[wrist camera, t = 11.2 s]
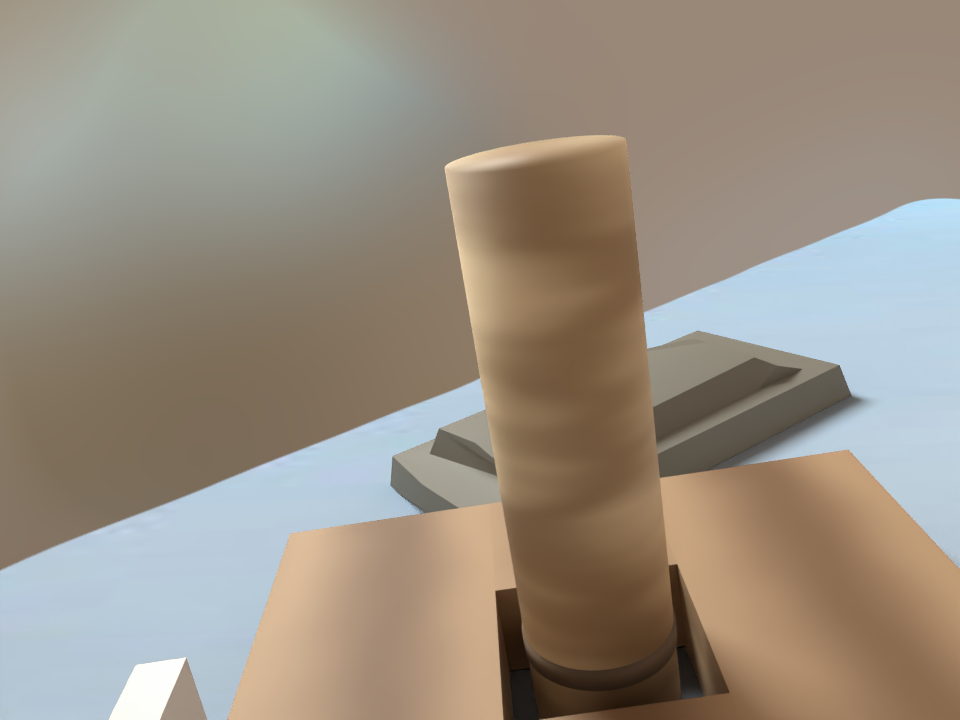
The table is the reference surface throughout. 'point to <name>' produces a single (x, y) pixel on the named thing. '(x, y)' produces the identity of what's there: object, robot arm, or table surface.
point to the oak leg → (570, 415)
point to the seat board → (695, 598)
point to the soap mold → (677, 417)
